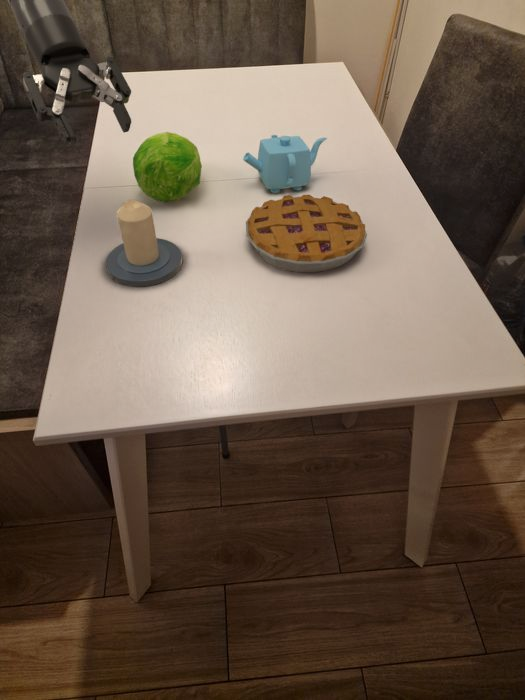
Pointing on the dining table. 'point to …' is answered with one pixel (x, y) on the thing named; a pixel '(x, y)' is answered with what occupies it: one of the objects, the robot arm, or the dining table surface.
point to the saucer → (146, 274)
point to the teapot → (284, 162)
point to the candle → (138, 233)
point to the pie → (305, 233)
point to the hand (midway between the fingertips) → (101, 136)
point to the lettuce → (167, 167)
